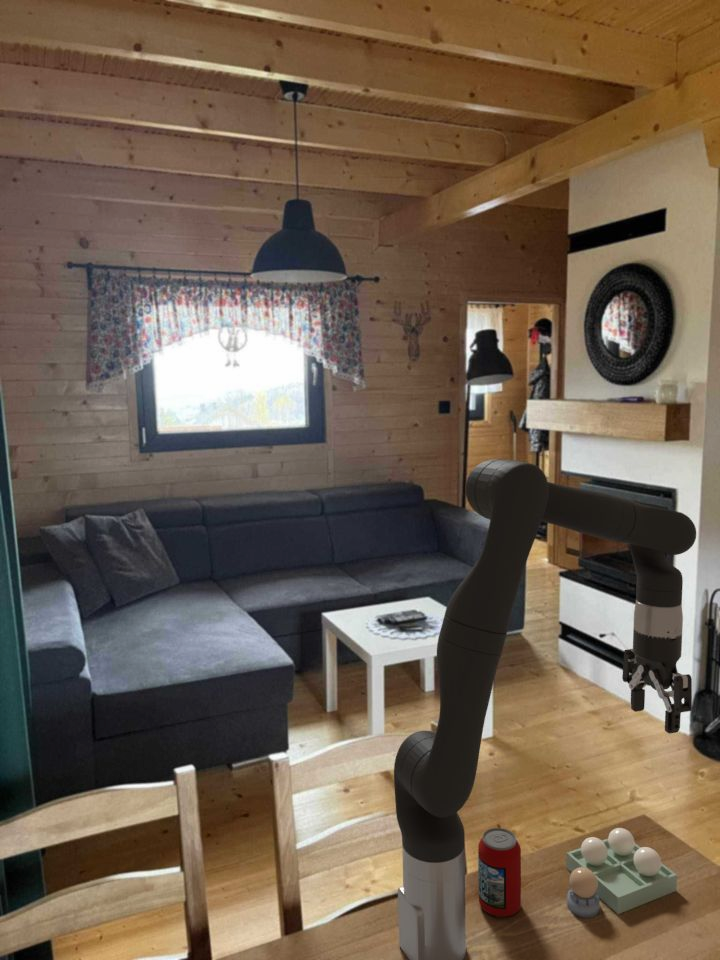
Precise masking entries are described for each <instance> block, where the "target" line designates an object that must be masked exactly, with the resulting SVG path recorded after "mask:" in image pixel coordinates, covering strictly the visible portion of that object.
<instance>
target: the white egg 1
mask: <svg viewBox="0 0 720 960" xmlns="http://www.w3.org/2000/svg"><path fill="white" fill-rule="evenodd" d="M602 840H603V839H602ZM602 840H601V839H600V838H598V837H595V836H590V837H586V838H585V839H584V840H583V841H582V843H581V846H580V848H581V854H582V856H583V858H584V860H585V861H586V862H587V863H589V864H591V865H594V866H599V865H601V864H603V863H604V862H605V861H606V859H607V856H608V851H607V847H606V845H605V844H604V842H603V841H602Z"/></svg>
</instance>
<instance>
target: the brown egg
mask: <svg viewBox="0 0 720 960" xmlns="http://www.w3.org/2000/svg"><path fill="white" fill-rule="evenodd" d="M568 880H569V882H568V883H569V886H570V889H572V891H573V892H574V893H575V894H576V895H577V896H579V897H581V898H590V897H592V896H593V895H594V894H595V893H596V891H597V889H598V881H597V878H596V876H595V874H594V873H593V872H592V871H591V870H589V869H587V868H584V867H579V868H576V869H575V870H573V872H572V873H571V872H570V876H569V879H568Z"/></svg>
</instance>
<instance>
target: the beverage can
mask: <svg viewBox="0 0 720 960" xmlns="http://www.w3.org/2000/svg"><path fill="white" fill-rule="evenodd" d="M477 847H478V851H477V852H478V853H477V854H478V855H477V858H478V859H477V861H478V866H477V867H478V868H477V869H478V871H477V873H478V876H477V877H478V902H479V906H480V907H481V908H482V909H483V910H484V911H485V912H486V913H488V914H490V915H493V916H495V917H501V918H503V917H508V916H512V915H514V914H516V913H517V912H518V911H519V910H520V909H521V903H522V902H521V901H522V900H521V899H522V896H521V895H522V894H521V893H522V874H521V873H522V855H521V854H522V851H521V849H522V848H521V845H520V843H519V842H518V840H517V836H516V835H515V834H514V833H513V831H510V829H507V828H502V827H492V828H488V829H487V830H485V831H484V832H483V833H482V837H481V838H480V840H479V842H478V845H477Z"/></svg>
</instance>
